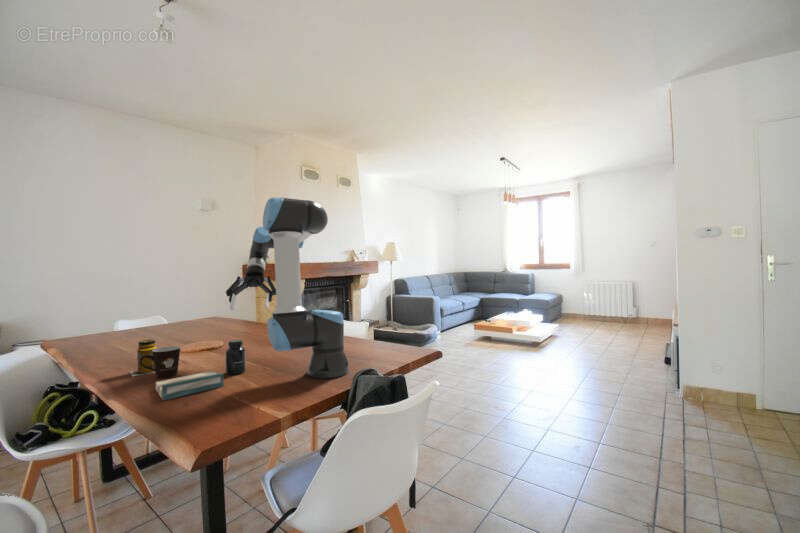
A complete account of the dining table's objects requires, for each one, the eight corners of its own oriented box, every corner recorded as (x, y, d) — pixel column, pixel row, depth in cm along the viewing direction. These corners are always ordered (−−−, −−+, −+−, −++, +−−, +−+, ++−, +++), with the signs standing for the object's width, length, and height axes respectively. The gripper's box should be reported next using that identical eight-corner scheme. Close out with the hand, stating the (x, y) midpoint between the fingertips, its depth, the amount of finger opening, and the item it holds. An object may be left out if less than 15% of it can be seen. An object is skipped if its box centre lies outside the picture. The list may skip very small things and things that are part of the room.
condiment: (159, 371, 134) (159, 340, 133) (132, 377, 128) (131, 344, 128) (156, 368, 139) (155, 338, 139) (129, 372, 133) (128, 341, 133)
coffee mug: (183, 371, 134) (183, 345, 134) (177, 378, 126) (176, 350, 126) (148, 374, 130) (147, 348, 130) (138, 381, 122) (138, 353, 122)
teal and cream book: (223, 386, 116) (223, 373, 116) (163, 400, 104) (162, 386, 104) (212, 377, 126) (212, 365, 126) (155, 389, 114) (155, 376, 114)
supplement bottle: (237, 375, 127) (237, 343, 127) (221, 374, 128) (221, 342, 128) (249, 370, 134) (249, 339, 134) (234, 369, 135) (233, 338, 135)
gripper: (285, 275, 163) (281, 311, 148) (227, 276, 157) (218, 314, 143) (283, 264, 157) (280, 301, 143) (224, 264, 152) (214, 303, 138)
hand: (249, 307), depth 143 cm, fingers open, 13 cm apart
